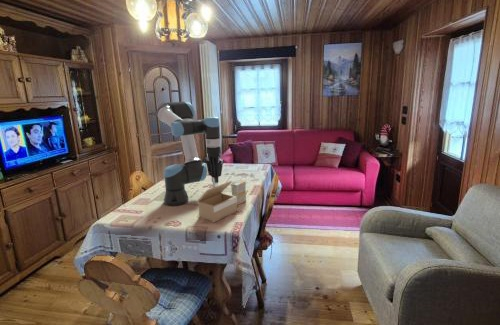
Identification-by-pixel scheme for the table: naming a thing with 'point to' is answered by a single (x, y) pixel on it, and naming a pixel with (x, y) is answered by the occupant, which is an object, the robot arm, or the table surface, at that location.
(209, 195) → the lid
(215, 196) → the carton
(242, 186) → the supplement box
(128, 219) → the table surface
